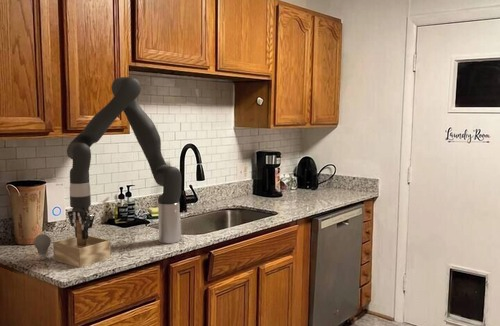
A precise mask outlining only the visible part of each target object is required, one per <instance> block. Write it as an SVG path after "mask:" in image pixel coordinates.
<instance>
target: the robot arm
mask: <svg viewBox="0 0 500 326" xmlns="http://www.w3.org/2000/svg"><path fill="white" fill-rule="evenodd" d="M141 90H142V85H141V84H140V82H139V80H138V79H137V78H135V77H131V76H122V77H120V76H119V77H117V78H115V79H114V80H113V81H112V82H111V92H112V94H113V97H112V99H110V101H109V102H107V104H106V105H105V106H103V108H102V109H100V110H99V111H98V112H97V113H96V114H95V115H94V116H93V117H92V118H91V119H90V121H89V122H88V123H87V124H86V126H85V127H84V128H83V130H82V131H81V132H80V133H78V135H76V137H75V138H73V139H72V141H70V143H69V144H68V145H67V149H66V155H67V157H68V158H69V159H70V160H72V163H71V164H72V168H70V171H69V206H70V208H72V209H71V210H70V211H67V217H68V221H69V223H70V226H71V227H73V228H74V235H75V236H74V237H76V238H77V227H76V220H79V222H80V224H81V227H82V239H84V240H85V239H88V236H89V229H93V223H94V221H95V214H94V213H90V209H89V208H90V207H91V205H92V202H91V201H92V200H91V199H92V198H91V194H92V193H91V186H90V185H91V184H90V167H91V162H92V161H91V160H92V151H91V147H92V146H93V145H94V144H95V143H98V142H99V141H100V140H101V139H102V137H103V136H104V135H105V133H106V132H107V130H108V129H109V128H110V127H111V125H112V124H113V123H114V122H115V120H116V119H117V118H118V117H119V116H120V115H121V114H122V112H123V113H124V115H125V116H126V119H127V121H128V124H129V126H130V127H131V130H132V132H133V135H134V136H135V138H136V140H137V143H138V145H139V146H140V148H141V151H142V152H143V154H144V156H145V159H146V160H147V163H148V165H149V168H150V171H151V173H152V176H153V179H154V181H155V183H156V184H157V185H158V186H160V187H162V188H163V190H162V194H161V195H158V196H157V203H158V204H157V205H158V206H157V208H158V209H157V210H158V211H157V213H158V214H157V215H158V218H157V219H158V242H159V243H162V244H176V243H178V242H180V241H182V218H181V217H180V200H181V199H180V198H181V195H182V173H181V170H180V169H179V168H178V167H175V166H171V165H168V164H167V162H166V160H165V159H164V157H163V154H162V147H161V146H162V145H161V143H162V142H161V141H162V140H161V137H160V133H159V131H158V129H157V127H156V125H155V123H154V121H153V120H152V119H151V117H150V116H149V115H148V114H147V113H146V112H145V111H144V110H143V109H142V107H141V105H140V104H139V102H138V100H137V99H138V97H139V96H140V93H141ZM84 220H86V221H84ZM83 221H84V222H83ZM84 224H85V227H84Z"/></svg>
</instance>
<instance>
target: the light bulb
mask: <svg viewBox="0 0 500 326" xmlns="http://www.w3.org/2000/svg"><path fill="white" fill-rule="evenodd" d="M51 241H52V240H51V238H50V236H49V235H48V234H45V233H41V234H38V235H37V236H36V237H35V238H34V240H33V245H34V247H35V249H36V250H37V253H38V257H39V260H41V261H44V260H46V259H47V256H48V255H47V253H48V249H49V247H50V245H51V243H52V242H51Z"/></svg>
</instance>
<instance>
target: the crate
mask: <svg viewBox="0 0 500 326" xmlns="http://www.w3.org/2000/svg"><path fill="white" fill-rule="evenodd" d="M52 244H53V245H52V247H53V260H54V261H56V262H60V263H64V264H67V265H69V266H70V265H71V266H73V267H78V268H83V267H87V266H90V265H92V263H93V264H95V263H99V262H103V261H105V259H106V260H109V259H111V257H112V256H111V252H112V251H111V240H109V239H107V238H106V239H105V238H100V237H97V236H92V235H88V239H86V245H85V246H77V238H76V236H73V237H69V238H65V239H60V240H57V241H53V242H52ZM108 258H109V259H108Z"/></svg>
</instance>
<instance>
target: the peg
mask: <svg viewBox="0 0 500 326" xmlns="http://www.w3.org/2000/svg"><path fill="white" fill-rule="evenodd" d="M84 221H86V220H84ZM84 221H83V222H84ZM76 227H77V246H85V245H86V239H85V240H84V239H82V227H81V224H80V222H79V220H76ZM84 227H85V224H84Z"/></svg>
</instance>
